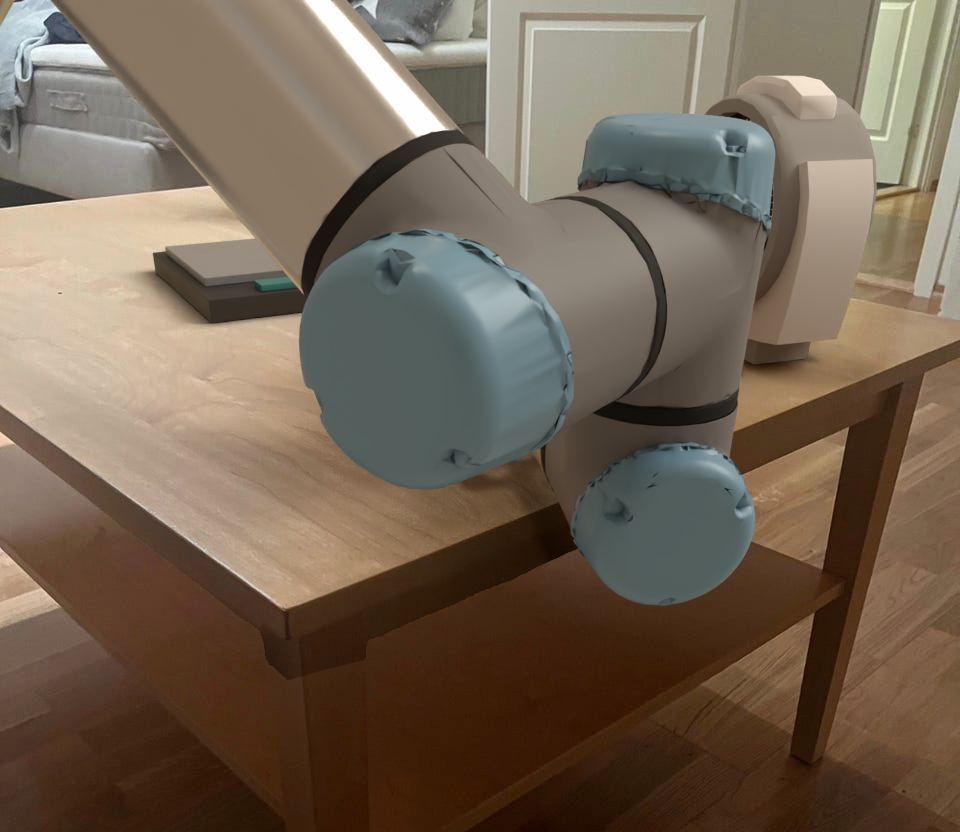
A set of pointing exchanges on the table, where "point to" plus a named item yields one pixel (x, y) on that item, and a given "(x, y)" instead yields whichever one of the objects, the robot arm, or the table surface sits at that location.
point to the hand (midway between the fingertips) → (519, 308)
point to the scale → (229, 280)
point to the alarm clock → (807, 211)
